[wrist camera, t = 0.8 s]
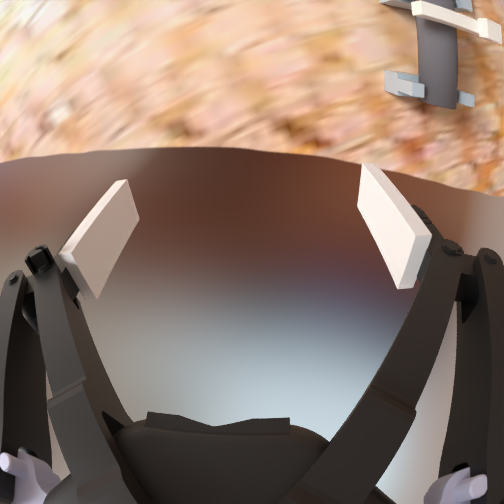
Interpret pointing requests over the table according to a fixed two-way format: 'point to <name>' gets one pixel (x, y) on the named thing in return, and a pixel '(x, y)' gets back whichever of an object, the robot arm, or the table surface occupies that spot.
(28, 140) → the table surface
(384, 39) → the table surface
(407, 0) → the cradle
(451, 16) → the white l-shaped hook
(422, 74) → the gray cylinder
